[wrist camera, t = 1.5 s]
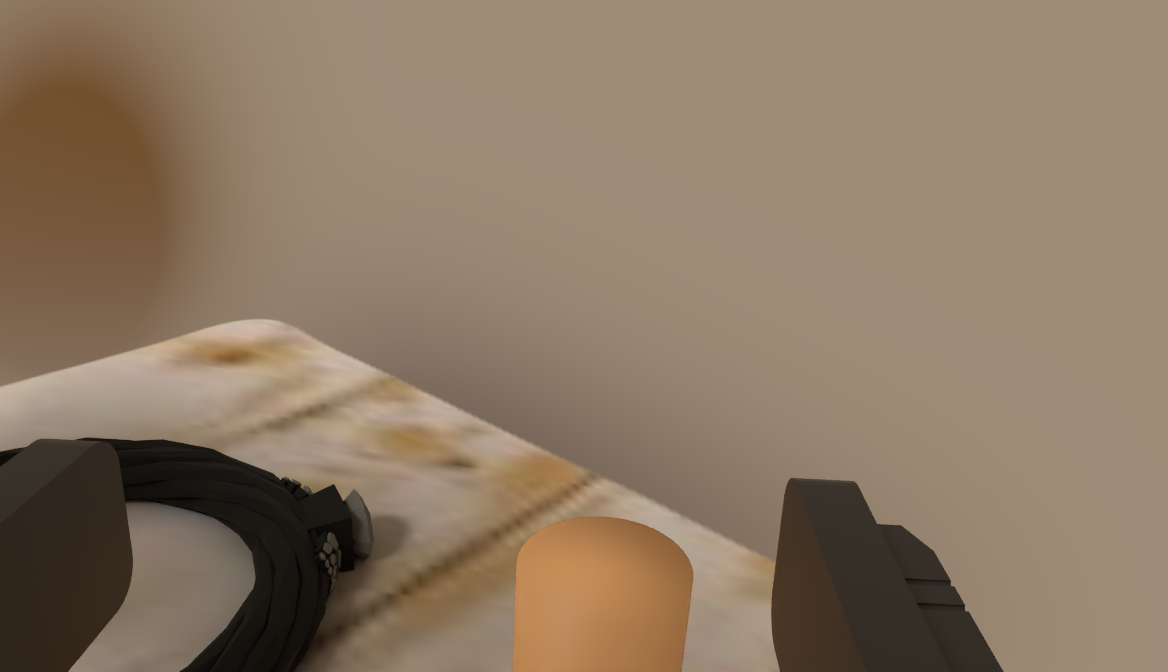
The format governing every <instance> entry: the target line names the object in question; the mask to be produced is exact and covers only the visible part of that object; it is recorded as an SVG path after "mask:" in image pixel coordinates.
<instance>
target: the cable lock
mask: <svg viewBox="0 0 1168 672" xmlns="http://www.w3.org/2000/svg"><path fill="white" fill-rule="evenodd" d="M76 440H80V441H100V442H107V443H109V444H110V445H112V447H113V448H114V449H115V451H116V453H117V456H118V459H119V463H120V470H121V477H122V484H123V491H124V498H125V499H133V498H137V499H147V500H153V501H156V502H159V503H163V504H168V505H173V506H178V507H183V508H188V509H193V510H197V511H200V512H203V513H206V514H209V515H212V516H213V517H214V518H216V519H217V520H219V521H220V522H222V523H223V524H224V525H226V526H227V527H229V528H230V529H232V530H233V531H234V532H236V533H237V534H239V536H240V537H241V538H242V540H243V541H244V542H245V543H246V545H247V546H248V547H249V549H250V550H251V551H252V554H253V561H254V568H255V575H256V581H255V584H254V588H253V590H252V591H251V593H250V594H249V596H248V597H247V599H246V600H245V601H244V603H243V604H242V606H241V607H240V609H239V610H238V612H237V613H236V615H235V616H234V618H233V619H232V620H231V622H230V623H229V625H228V626H227V628H226V629H225V630H224V631H223V632H222V633H221V634H220V635H219V636H218V637H217V638H216V639H215V640H214V641H213V642H212V643H211V644H210V645H209V646H208V647H207V648H206V649H205V650H204V651H203V652H202V653H201V654H200V655H199V656H198V657H197V658H196V659H195V660H194V661H193V662H192V663H191V664H190V665H189V666H187V667H186V668H184V669H183V670H181V671H180V672H294V670H295V669H296V667H297V666H298V664H299V663H300V661H301V660H302V658H303V657H304V655H305V654H306V652H307V651H308V649H309V647H310V645H311V642H312V640H313V638H314V636H315V634H316V631H317V629H318V627H319V625H320V622H321V620H322V618H323V616H324V614H325V607H326V602H327V600H328V599H329V597H330V595H331V592H332V591H333V589H334V586H335V583H336V581H337V578H338V573H339V572H344V571H351V570H354V556H353V553H354V554H356V555H358V556H360V557H362V558H367V557H368V556H369V555H370V552H371V548H372V544H373V541H374V539H373V532H372V525H371V517H370V513H369V511H368V509H367V507H366V505H365V503H364V501H363V499H362V498H361V496H360V495H359V494H358V493H357V491H356V490H355V489H354V490H353V491H352V492H351V493H350V494H349V496H348V497H347V498H346V499H345V500H344V501H343V500H342V498H341V496H340V494H339V493H338V491H337V489H336V487H335V485H334V484H333V485H331V486H329V487H327V488H325V489H323V490H321V491H318V492H316V493H314V494H313V493H312V491H311V490H310V488H309V487H307V486H304V489H302V488H301V487H300V486H302V485H301V484H300V482H297V481H295V480H293V479H292V482H291V481H290V480H289V478H286V477H284V478H282V479H281V480H280V479H279V478H278V477H276V476H275V475H274V474H273V473H271V472H268V471H265V470H263V469H260V468H257V467H255V466H252V465H249V464H247V463H244V462H241V461H239V460H236V459H234V458H231V457H229V456H226V455H224V454H222V453H220V452H218V451H216V450H214V449H210V448H205V447H200V446H194V445H189V444H184V443H178V442H173V441H168V440H163V439H162V440H141V441H132V440H118V439H101V438H82V439H76ZM25 448H26V447H25ZM25 448H17V449H12V450H7V451H2V452H0V467H1V466H2V465H3V464H5V463H6V462H7V461H9V460H10V459H11V458H13V457H14V456H15V455H17V454H18V453H19V452H21V451H22V450H23V449H25Z"/></svg>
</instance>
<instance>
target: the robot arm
mask: <svg viewBox="0 0 1168 672" xmlns="http://www.w3.org/2000/svg"><path fill="white" fill-rule="evenodd" d="M132 568H133V557H132V548H131V541H130V534H129V527H128V520H127V512H126V505H125V498H124V491H123V484H122V477H121V470H120V463H119V459H118V456H117V453H116V451H115V449H114V448H113V447H112V445H110V444H109V443H107V442H100V441H80V440H60V439H39V440H36V441H35V442H33V443H31V444H30V445H29V446H27V447H26V448H25V449H23V450H22V451H21V452H19V453H18V454H17V455H15V456H14V457H13V458H11V459H10V460H9V461H7V462H6V463H5V464H3V465H2V466H1V467H0V672H68V671H69V670H70V668H71V667H72V666H73V665H74V664H75V662H76V661H77V660H78V659H79V658H80V656H81V655H82V654H83V653H84V651H85V650H86V649H87V648H88V647H89V645H90V644H91V643H92V642H93V641H94V639H95V638H96V637H97V636H98V634H99V633H100V632H101V631H102V630H103V628H104V627H105V626H106V625H107V624H108V622H109V621H110V620H111V619H112V617H113V616H114V615H115V614H116V613H117V611H118V610H119V608H120V607H121V605H122V603H123V602H124V600H125V597H126V595H127V592H128V589H129V586H130V582H131V576H132ZM771 619H772V635H773V642H774V648H775V652H776V656H777V660H778V664H779V669H780V672H1003V670H1002V669H1001V667H1000V665H999V663H998V662H997V660H996V658H995V656H994V655H993V653H992V651H991V650H990V648H989V646H988V644H987V643H986V641H985V639H984V637H983V636H982V634H981V632H980V630H979V629H978V627H977V625H976V624H975V622H974V620H973V618H972V617H971V615H970V613H969V612H966V611H965V604H964V603H963V601H962V599H961V598H960V596H959V594H958V593H957V591H956V589H955V587H953V586H951V580H950V579H949V577H948V575H947V574H946V572H945V570H944V568H943V566H942V565H941V563H940V561H939V560H938V558H937V556H936V554H935V553H934V551H933V550H931V549H930V548H929V547H928V546H926V545H925V544H924V543H923V542H921V541H920V540H919V539H917V538H916V537H915V536H914V535H913V534H911V533H910V532H909V531H907V530H906V529H905V528H904V527H902V526H901V525H880V524H877V523H876V521H875V519H874V517H873V516H872V513H871V511H870V509H869V507H868V505H867V503H866V501H865V499H864V497H863V495H862V493H861V491H860V489H859V487H858V485H857V484H856V483H855V482H854V481H840V480H821V479H799V478H791V479H790V480H789V481H788V484H787V486H786V491H785V495H784V503H783V511H782V518H781V526H780V535H779V542H778V550H777V558H776V566H775V574H774V582H773V591H772V607H771Z"/></svg>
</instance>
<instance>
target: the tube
mask: <svg viewBox="0 0 1168 672" xmlns="http://www.w3.org/2000/svg"><path fill="white" fill-rule="evenodd" d="M692 585H693V570H692V566H691V563H690V561H689V559H688V557H687V556H686V554H685V553H684V551H683V550H682V549H681V548H680V547H679V546H678V545H677V544H676V543H675V542H674V541H673V540H671V539H670V538H668V537H667V536H666V535H664V534H662V533H660V532H659V531H657V530H655V529H653V528H650V527H648V526H646V525H643V524H640V523H637V522H633V521H629V520H625V519H619V518H612V517H580V518H573V519H568V520H564V521H560V522H557V523H554V524H552V525H549V526H547V527H545V528H543V529H541V530H540V531H538V532H537V533H535V534H534V535H533V536H531V537H530V538H529V539H528V540H527V541H526V543H525V544H524V545H523V547H522V548H521V550H520V552H519V555H518V558H517V571H516V596H515V621H514V647H513V672H681V670H682V663H683V655H684V647H685V639H686V632H687V624H688V616H689V608H690V600H691V593H692Z"/></svg>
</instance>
